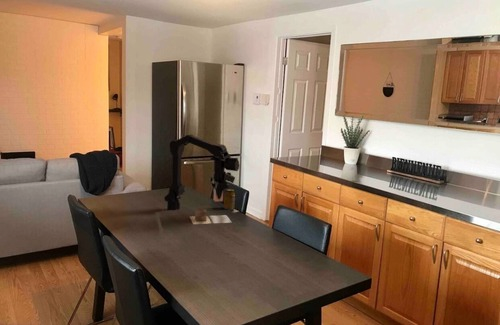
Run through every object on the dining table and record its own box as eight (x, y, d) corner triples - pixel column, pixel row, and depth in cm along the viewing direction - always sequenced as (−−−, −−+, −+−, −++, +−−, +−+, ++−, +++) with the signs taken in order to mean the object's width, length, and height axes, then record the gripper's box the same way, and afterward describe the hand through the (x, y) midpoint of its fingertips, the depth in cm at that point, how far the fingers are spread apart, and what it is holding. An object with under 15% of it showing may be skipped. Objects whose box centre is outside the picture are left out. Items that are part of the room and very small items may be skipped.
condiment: (230, 207, 232) (231, 187, 230) (239, 211, 225) (240, 191, 223) (220, 209, 227) (221, 189, 225) (228, 213, 221) (229, 192, 219)
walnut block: (196, 221, 200) (196, 212, 199) (194, 218, 205) (195, 209, 204) (206, 221, 202) (206, 211, 201) (204, 218, 206) (204, 208, 205)
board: (193, 226, 196) (193, 224, 196) (189, 218, 207) (189, 216, 207) (231, 224, 202) (232, 222, 202) (226, 217, 214) (226, 215, 213)
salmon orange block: (215, 201, 206) (215, 190, 205) (213, 199, 210) (213, 188, 209) (222, 201, 207) (223, 190, 206) (220, 199, 211) (221, 188, 210)
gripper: (239, 172, 200) (237, 202, 202) (229, 165, 217) (228, 193, 220) (217, 172, 196) (216, 203, 199) (209, 165, 213) (208, 193, 216)
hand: (218, 198), depth 208 cm, fingers closed on salmon orange block, 4 cm apart
